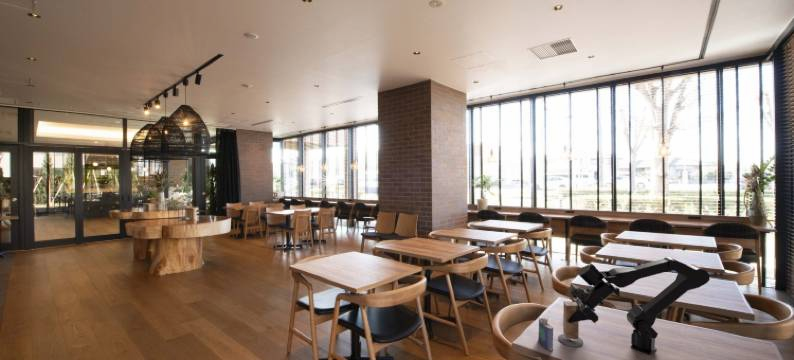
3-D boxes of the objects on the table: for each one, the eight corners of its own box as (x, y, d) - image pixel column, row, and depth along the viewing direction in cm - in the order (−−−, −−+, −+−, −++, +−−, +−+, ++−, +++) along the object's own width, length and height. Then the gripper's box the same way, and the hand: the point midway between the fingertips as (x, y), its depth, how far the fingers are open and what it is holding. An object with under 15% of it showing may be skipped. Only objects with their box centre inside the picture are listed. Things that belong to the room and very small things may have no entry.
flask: (554, 351, 132) (554, 323, 131) (546, 351, 132) (546, 323, 131) (543, 339, 141) (543, 313, 141) (536, 339, 141) (536, 313, 140)
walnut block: (575, 333, 141) (575, 302, 140) (578, 339, 136) (578, 306, 136) (563, 332, 142) (563, 301, 141) (565, 337, 137) (566, 305, 137)
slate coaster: (587, 342, 138) (587, 340, 138) (575, 349, 133) (575, 347, 133) (565, 333, 145) (565, 331, 145) (553, 339, 140) (553, 338, 140)
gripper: (576, 271, 146) (547, 295, 149) (589, 286, 128) (556, 313, 131) (596, 291, 145) (567, 315, 148) (612, 309, 126) (579, 336, 130)
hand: (567, 319), depth 139 cm, fingers closed on walnut block, 4 cm apart
